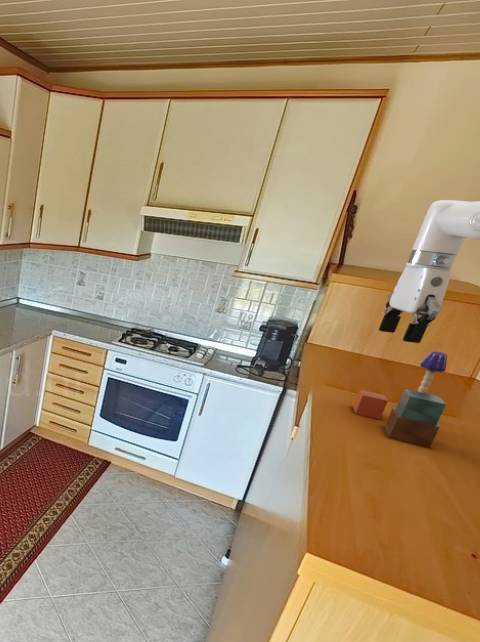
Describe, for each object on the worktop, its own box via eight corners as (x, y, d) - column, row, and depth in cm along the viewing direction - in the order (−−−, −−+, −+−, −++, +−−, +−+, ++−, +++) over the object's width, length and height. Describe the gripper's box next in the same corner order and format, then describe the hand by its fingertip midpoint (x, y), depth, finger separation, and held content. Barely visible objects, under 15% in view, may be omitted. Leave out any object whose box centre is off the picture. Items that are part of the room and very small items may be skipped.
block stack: (422, 437, 110) (441, 396, 107) (429, 448, 105) (450, 405, 101) (384, 427, 114) (401, 387, 110) (388, 437, 108) (407, 396, 104)
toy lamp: (426, 421, 120) (456, 357, 115) (403, 416, 122) (432, 353, 116) (417, 414, 125) (446, 352, 119) (395, 410, 126) (422, 348, 120)
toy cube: (377, 413, 122) (384, 395, 121) (380, 419, 118) (388, 400, 117) (352, 407, 125) (360, 389, 123) (355, 413, 121) (362, 395, 119)
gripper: (479, 267, 97) (441, 349, 104) (424, 259, 113) (394, 330, 119) (436, 262, 99) (401, 343, 105) (388, 255, 115) (360, 326, 121)
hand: (398, 336), depth 112 cm, fingers open, 9 cm apart
